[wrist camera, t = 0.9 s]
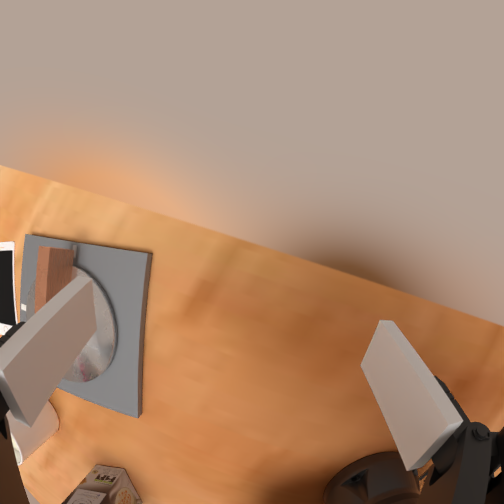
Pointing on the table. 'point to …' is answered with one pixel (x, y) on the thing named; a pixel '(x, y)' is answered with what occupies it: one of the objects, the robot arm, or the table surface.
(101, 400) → the dial plate
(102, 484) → the coffee box
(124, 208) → the table surface
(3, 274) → the cell phone
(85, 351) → the dial
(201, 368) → the table surface
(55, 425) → the candle holder
